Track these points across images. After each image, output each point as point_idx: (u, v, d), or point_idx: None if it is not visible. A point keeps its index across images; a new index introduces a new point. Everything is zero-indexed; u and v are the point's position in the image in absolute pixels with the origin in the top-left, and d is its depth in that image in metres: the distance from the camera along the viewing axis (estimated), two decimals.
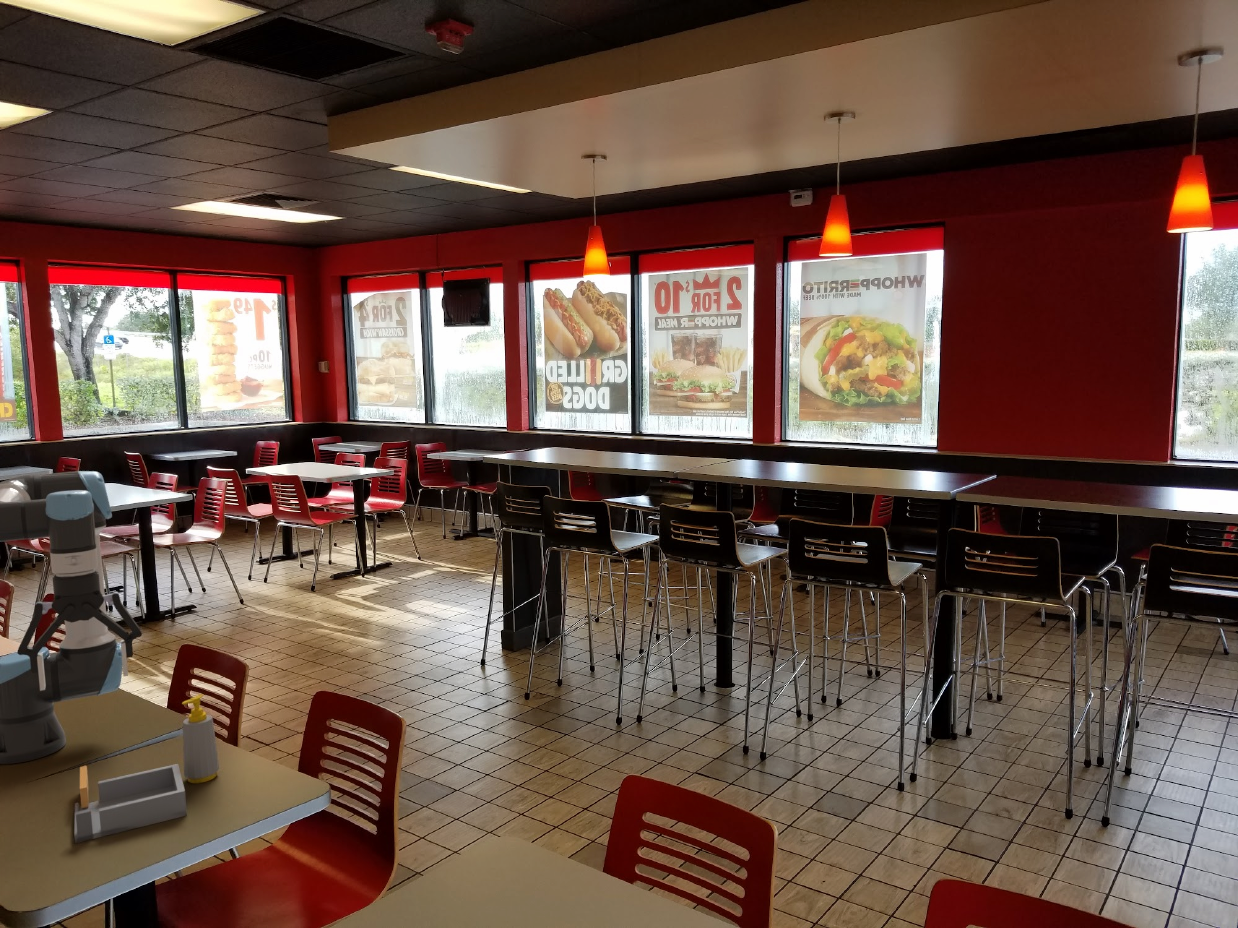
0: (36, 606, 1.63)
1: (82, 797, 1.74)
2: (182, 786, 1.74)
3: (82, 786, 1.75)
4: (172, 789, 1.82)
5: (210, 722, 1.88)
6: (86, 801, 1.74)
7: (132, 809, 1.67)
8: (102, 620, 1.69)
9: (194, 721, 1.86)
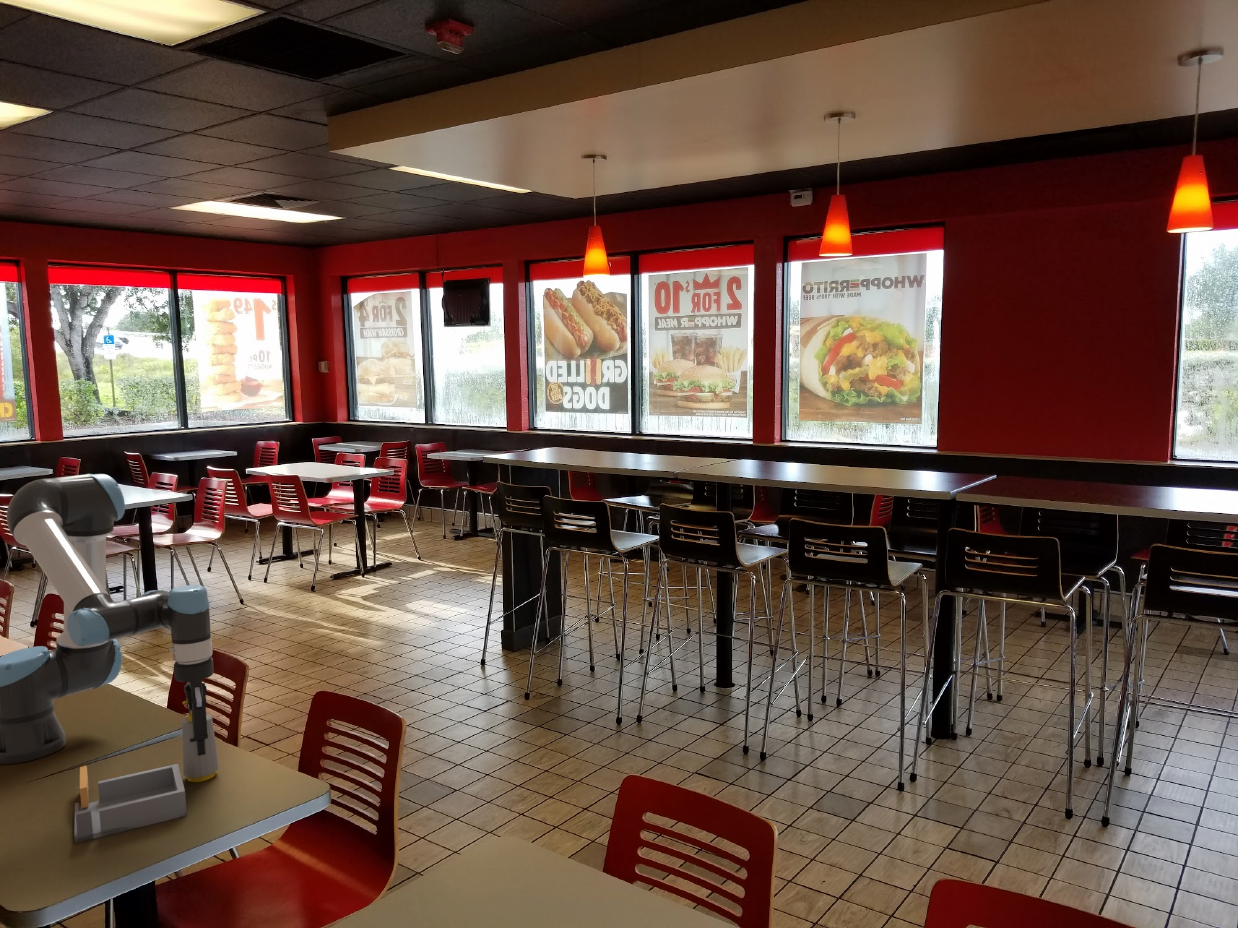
0: (186, 686, 1.92)
1: (82, 797, 1.74)
2: (182, 786, 1.74)
3: (82, 786, 1.75)
4: (172, 789, 1.82)
5: (210, 721, 1.88)
6: (86, 801, 1.74)
7: (132, 809, 1.67)
8: (191, 710, 1.86)
9: None
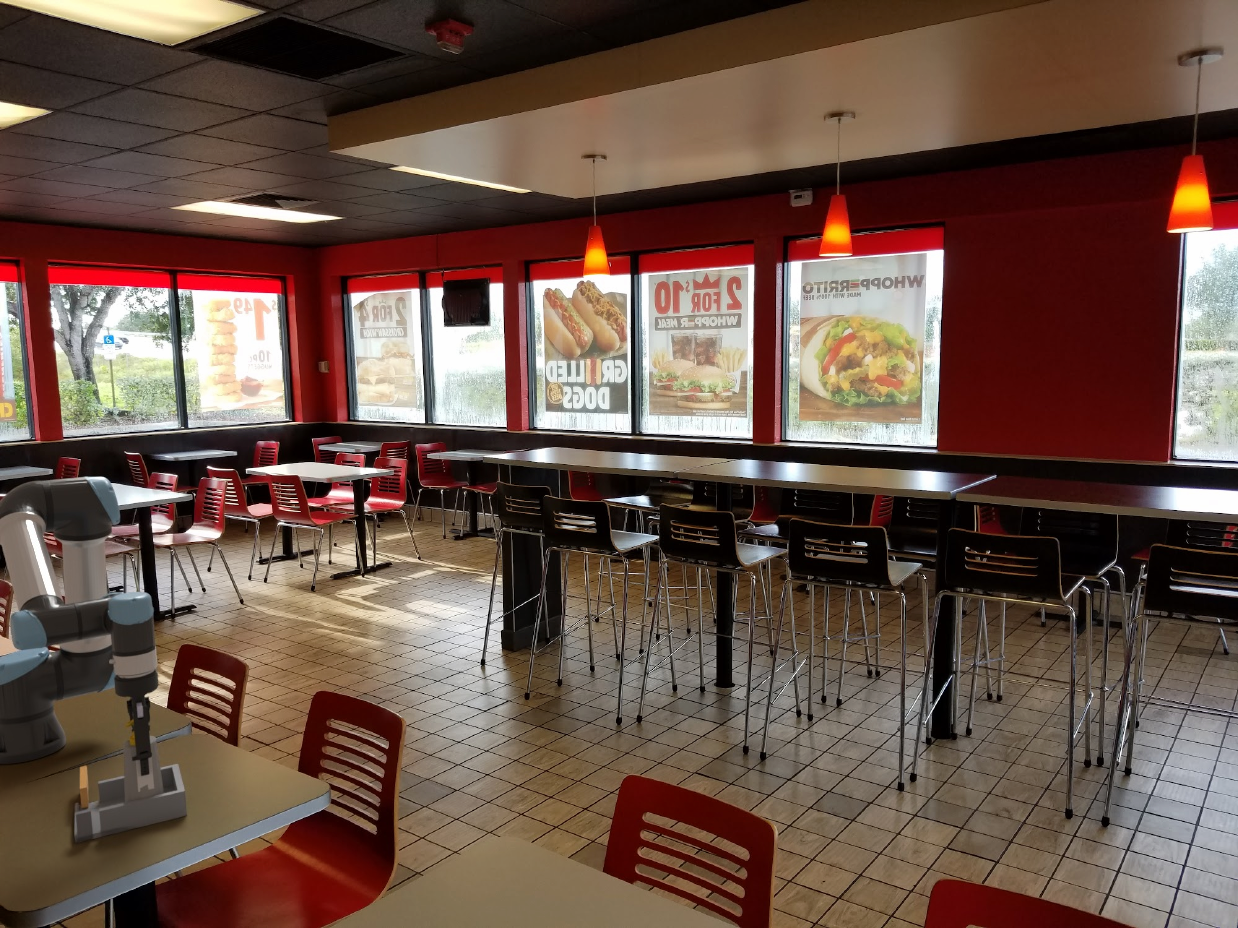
0: None
1: (82, 797, 1.74)
2: (182, 786, 1.74)
3: (82, 786, 1.75)
4: (172, 789, 1.82)
5: (155, 743, 1.72)
6: (86, 801, 1.74)
7: (132, 809, 1.67)
8: (133, 727, 1.71)
9: None
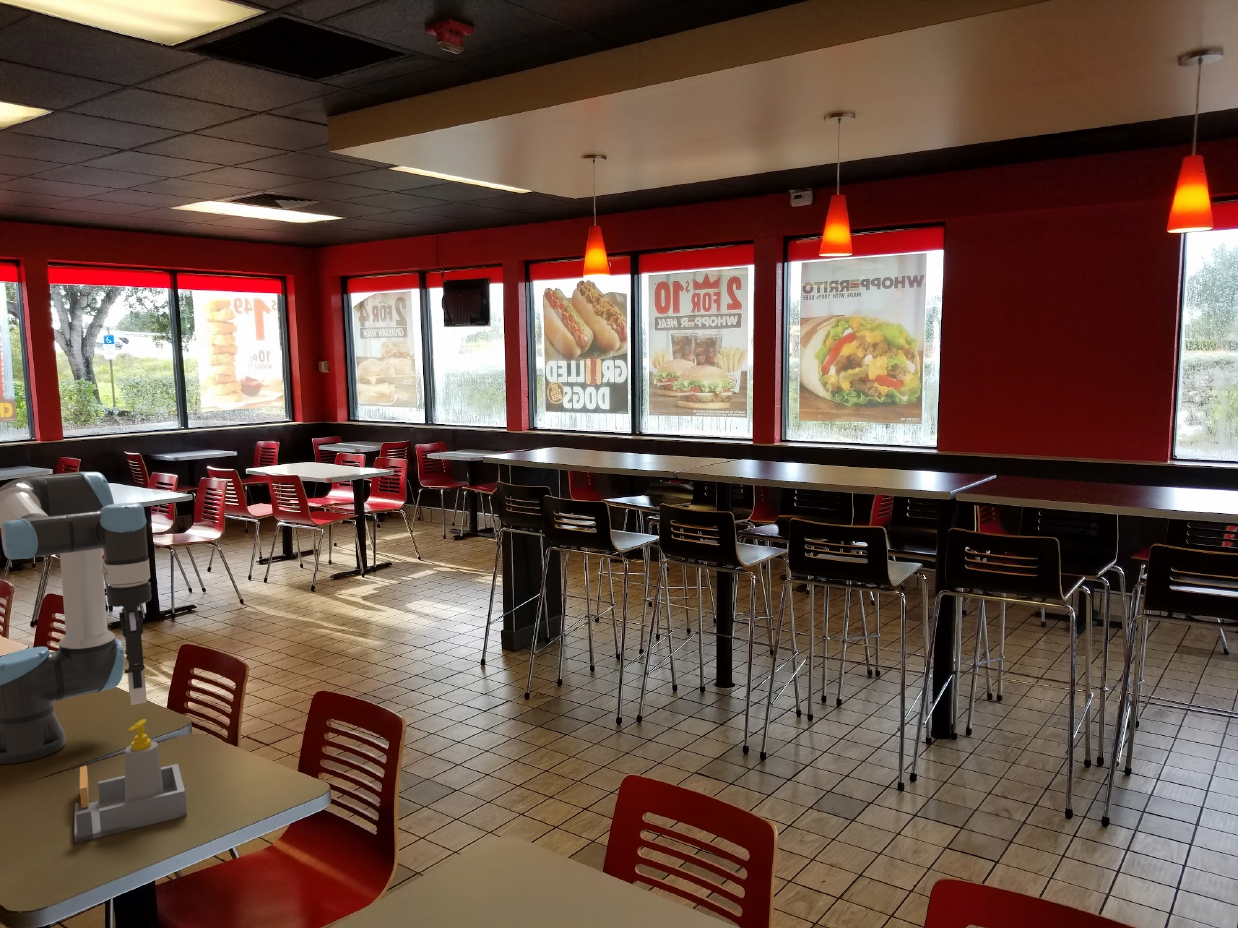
0: None
1: (82, 797, 1.74)
2: (182, 786, 1.74)
3: (82, 786, 1.75)
4: (172, 789, 1.82)
5: (157, 748, 1.72)
6: (86, 801, 1.74)
7: (132, 809, 1.67)
8: (126, 638, 1.70)
9: (140, 749, 1.70)
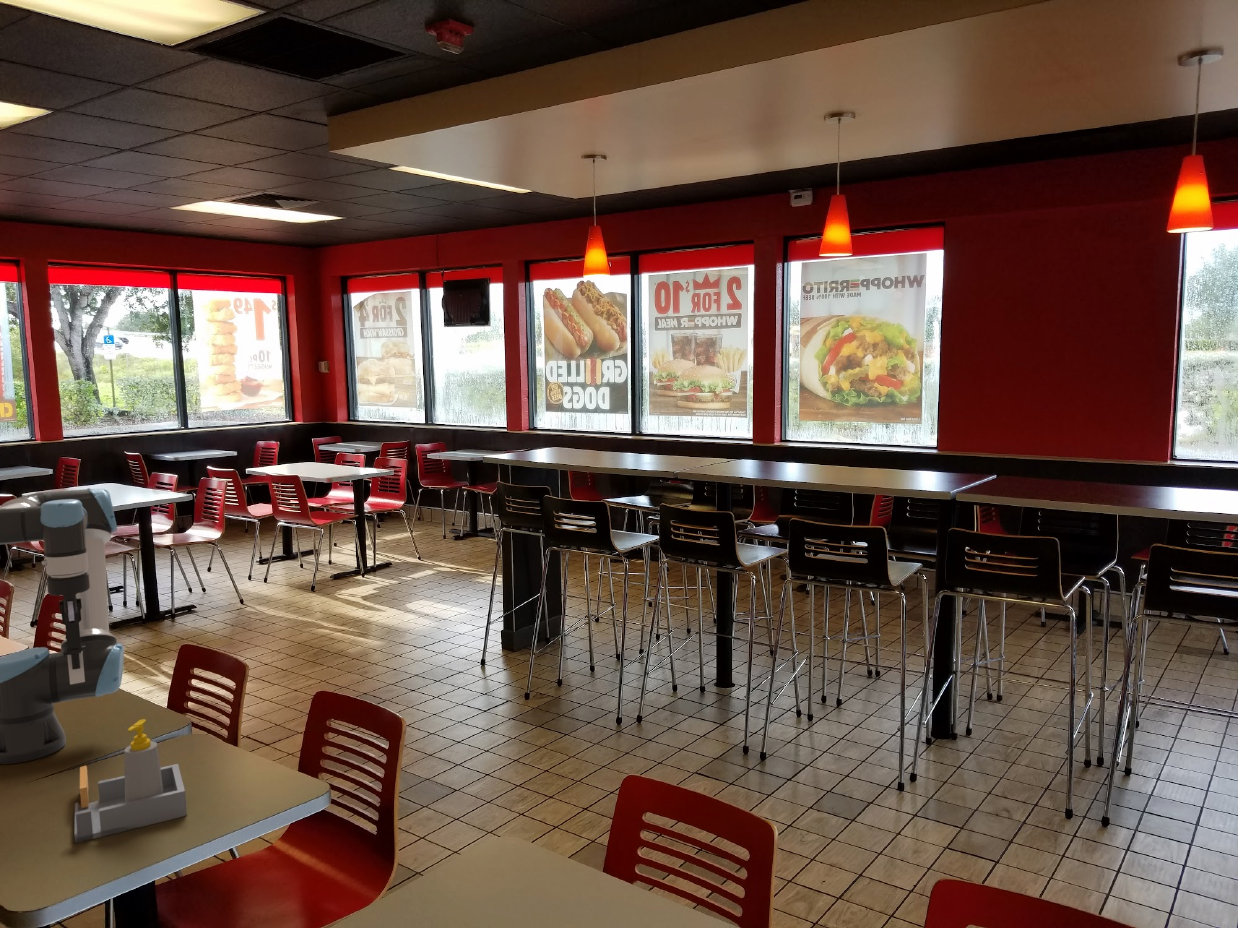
0: None
1: (82, 797, 1.74)
2: (182, 786, 1.74)
3: (82, 786, 1.75)
4: (172, 789, 1.82)
5: (157, 748, 1.72)
6: (86, 801, 1.74)
7: (132, 809, 1.67)
8: (65, 624, 1.84)
9: (140, 749, 1.70)
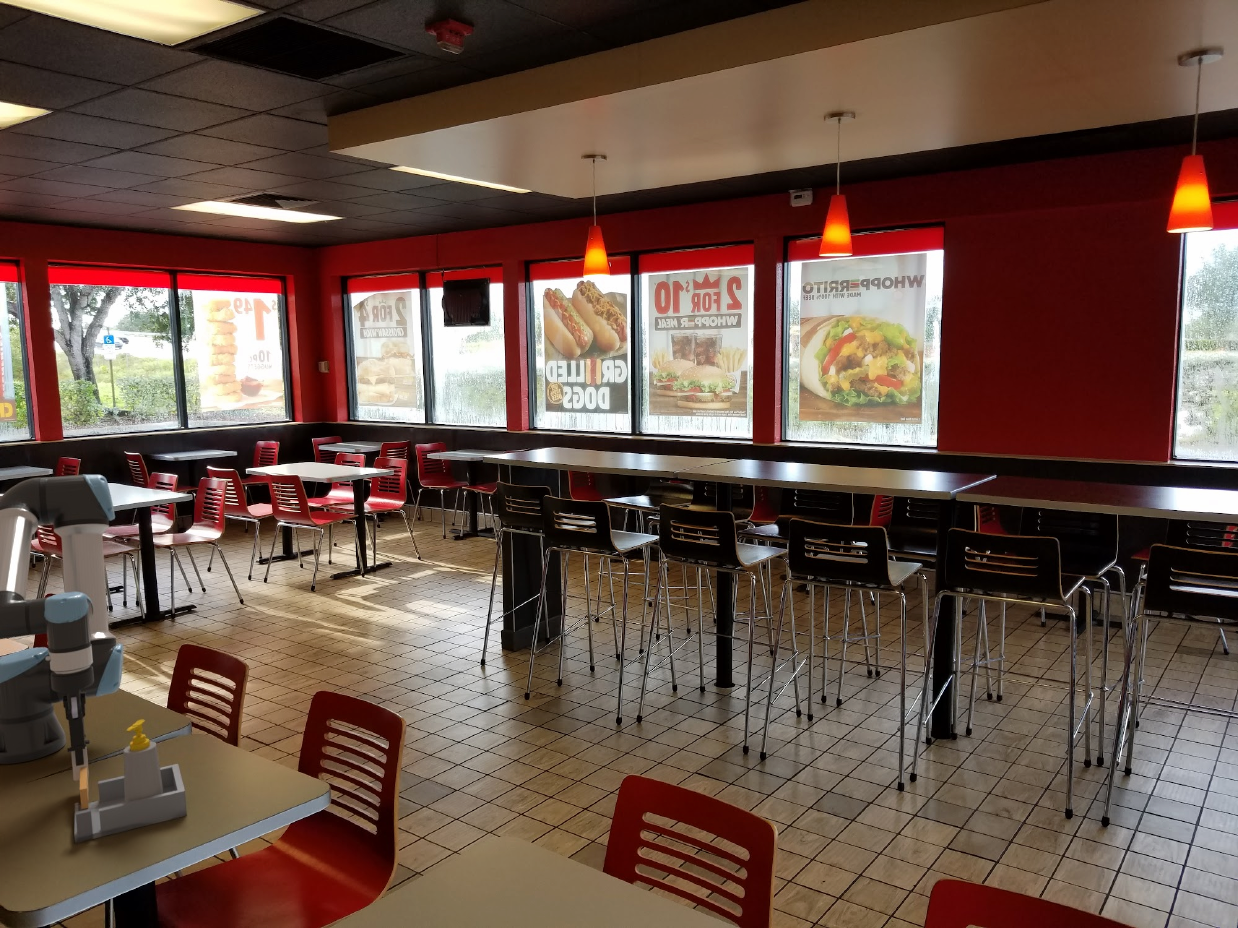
0: None
1: (82, 798, 1.73)
2: (182, 786, 1.74)
3: (82, 787, 1.74)
4: (172, 789, 1.82)
5: (156, 748, 1.72)
6: (86, 802, 1.74)
7: (132, 809, 1.67)
8: None
9: (139, 749, 1.70)
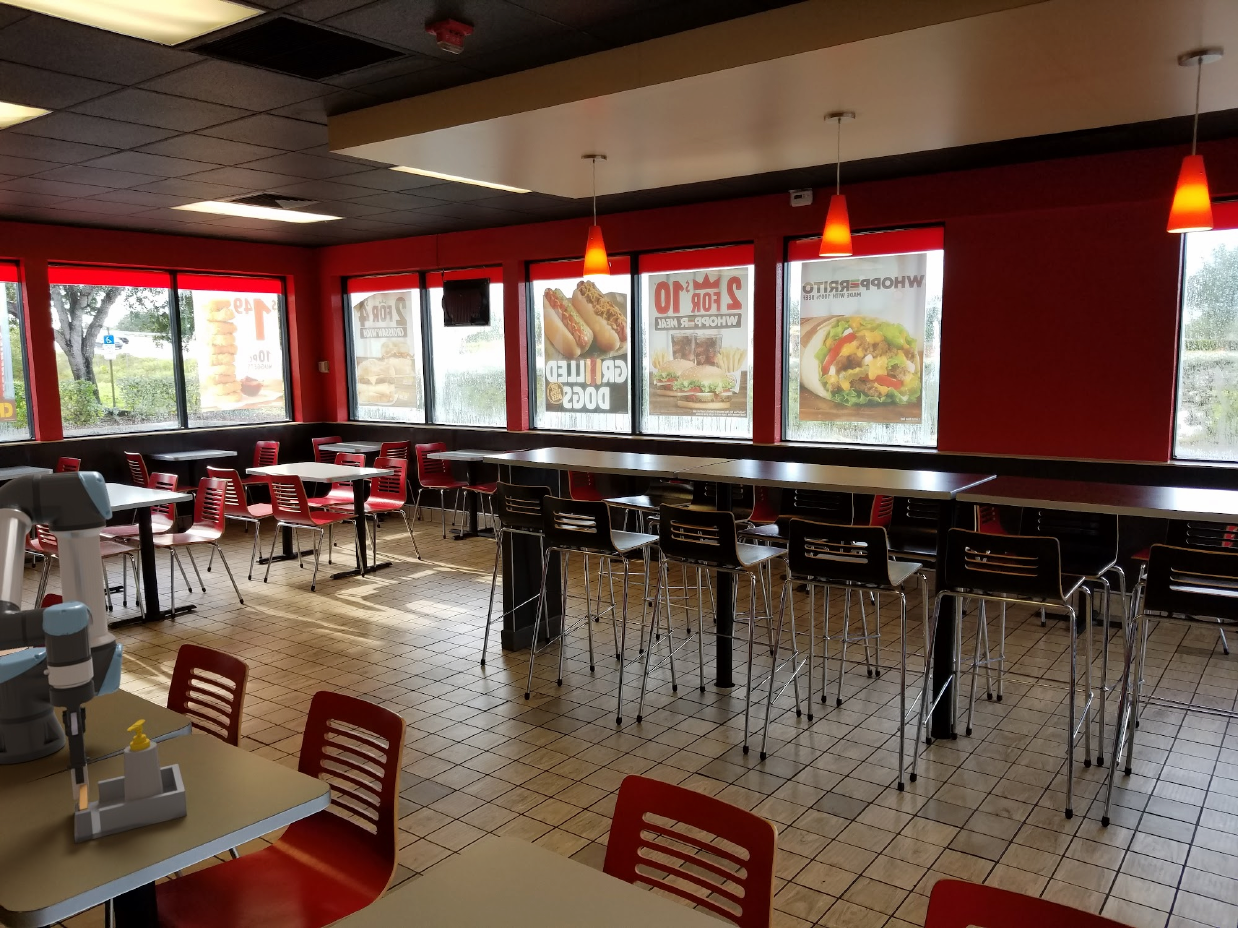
0: None
1: None
2: (182, 786, 1.74)
3: (82, 806, 1.66)
4: (172, 789, 1.82)
5: (156, 748, 1.72)
6: None
7: (132, 809, 1.67)
8: None
9: (139, 749, 1.70)
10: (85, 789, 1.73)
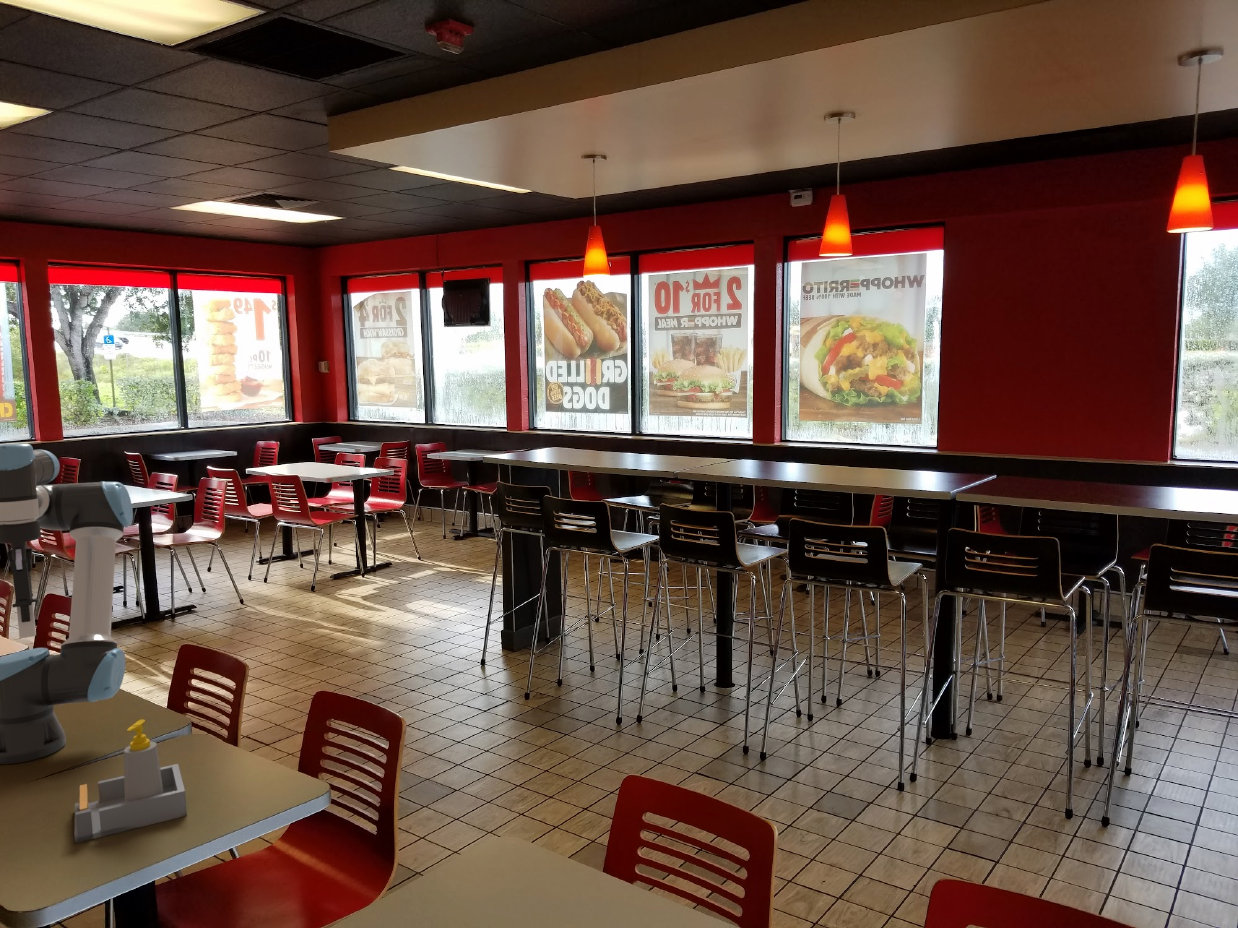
0: None
1: None
2: (182, 786, 1.74)
3: (82, 806, 1.66)
4: (172, 789, 1.82)
5: (156, 748, 1.72)
6: None
7: (132, 809, 1.67)
8: None
9: (139, 749, 1.70)
10: (85, 789, 1.73)
